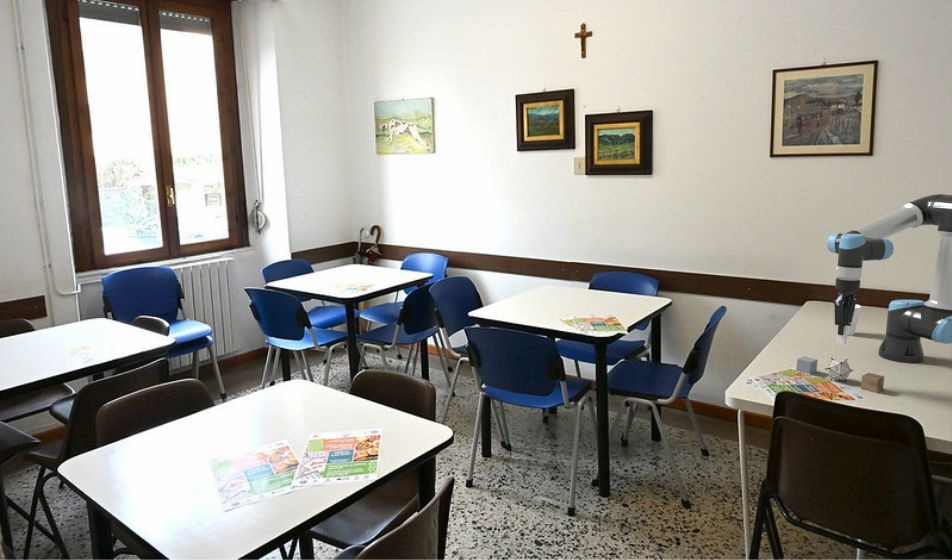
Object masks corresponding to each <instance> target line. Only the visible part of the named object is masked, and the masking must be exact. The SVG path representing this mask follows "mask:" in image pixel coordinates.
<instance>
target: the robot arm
mask: <svg viewBox="0 0 952 560" xmlns="http://www.w3.org/2000/svg"><path fill="white" fill-rule="evenodd" d="M921 226H937V233H938V234H939V235H940V243H939V247H938V252H937V257H936V258H937V259H936V262H935V267H934V274H933V279H932V284H931V289H930V294H929V298H928V300H926V301H924V300H920V299H895V300H891V301H890V303H889V304H888V310H887V317H886V318H887V320H886V326H885V327H886V328H885V336H884V339H883V340H882V342H881V344H880V346H879V347H878V356H879V357H881V358H884V359H886V360H890V361H894V362H900V363H908V364H909V363H910V364H911V363H921V362H923V361H924V356H925V354H924V350H923V346H922V342H921V341H922V340H921V339H922V338H923V339H925V340H929V341H933V342H934V343H941V344H945V345H949V344H952V194H942V193H940V194H931V195H926V196H924V197H921V198H917V199H915V200H913V201H909V202H908V203H905V204H903V205H902V206H901V207H900V209H898V210H896V211H893V212H891V213H889V214H887V215H884V216H882V217H880V218H877V219H875V220H873V221H871V222H867V223H866V224H863V225H861V226H859V227H856V228H854V229H852V230H849V231H847V232H845V233H841V232H834V233H832V234H830V235H829V236H828V237H827V241H826V248H827V250H828V251H829V252H831V253H833V254H836V255H837V256H838V257H837V258H838V259H837V267H836V268H835V269H836V278H835V285H834V287H835V289H836V290H839V291H838V295H837V298H836V299H834V298H833V306H834V325H835V326H837V332H836V339H835V343H836V344H840V345H846V344H847V337H848V335H847V331H848V326H851V324H849V323H852V319H853V314H854V310H855V306H856V304H857V302H858V298H859V296H858V295H856V292H857V291H859V290H860V289H861V288H860V287H861V280H860V279H861V278H862V271H863V263H864V261H883V260H887V259H890V257H892V256H893V254H894V251H895V250H894V249H895V248H894V244H893V242H892V240H890V239H888V237H891V236H893V235H895V234H897V233H900V232H903V231H905V230H907V229H909V228H913V229H914V228H918V227H921Z"/></svg>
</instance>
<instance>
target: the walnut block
mask: <svg viewBox="0 0 952 560" xmlns="http://www.w3.org/2000/svg"><path fill="white" fill-rule="evenodd" d="M884 383H885V376H884V375H880V374H878V373H877V374H876V373H874V372H873V373H872V372H867V373H864V374H862V376H861V383H860V384H861V385H860V390H863V391H866V390H867V392H870V393H871V392H872V393H875V394H877V392H878V393H879V391H880V392H881V390H882V391H883V390H884Z"/></svg>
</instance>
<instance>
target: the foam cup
mask: <svg viewBox="0 0 952 560" xmlns="http://www.w3.org/2000/svg"><path fill="white" fill-rule="evenodd" d="M861 310H862V306H861V305H860V304H857V303H856V306H855V310H854V314H853V319H852V323H849V324H851V326H848V331H847V336H848V335H851V336H854V335H855V332H856V329H857V325H858V321H859V317H860V314H861V312H862V311H861Z"/></svg>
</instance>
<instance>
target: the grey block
mask: <svg viewBox="0 0 952 560" xmlns="http://www.w3.org/2000/svg"><path fill="white" fill-rule="evenodd" d="M818 361H819V360H818V358H814V357H809V356H806V355H805V356H801V357H798V358H797V362H796V372H797V371H800V372H799V373H801V372H803V373H802V374H804V373H807V374H806V375H808V374H811V375H813V374H815V372H816V373H817V370H818ZM812 373H813V374H812Z"/></svg>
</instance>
